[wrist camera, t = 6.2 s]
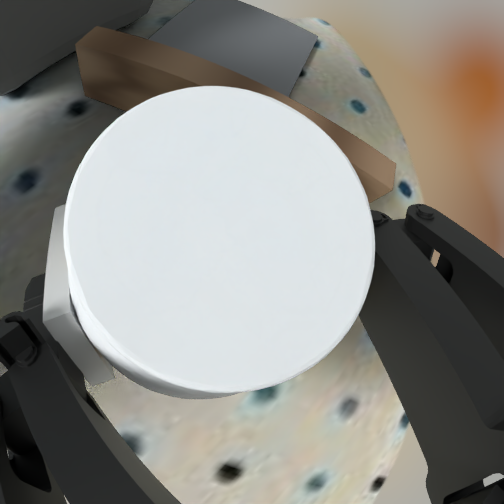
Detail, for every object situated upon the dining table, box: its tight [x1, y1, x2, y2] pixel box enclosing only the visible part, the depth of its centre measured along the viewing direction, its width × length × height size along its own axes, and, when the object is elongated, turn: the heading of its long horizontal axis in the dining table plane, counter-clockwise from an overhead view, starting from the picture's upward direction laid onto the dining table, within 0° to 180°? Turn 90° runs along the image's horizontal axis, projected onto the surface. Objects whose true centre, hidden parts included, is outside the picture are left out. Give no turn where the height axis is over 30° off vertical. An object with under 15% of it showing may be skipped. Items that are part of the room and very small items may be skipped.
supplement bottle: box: [63, 86, 375, 399], centre depth 10 cm, size 7×7×13 cm
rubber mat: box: [148, 0, 318, 97], centre depth 22 cm, size 12×11×1 cm
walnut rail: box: [75, 26, 396, 203], centre depth 17 cm, size 20×2×5 cm, turn 68°
